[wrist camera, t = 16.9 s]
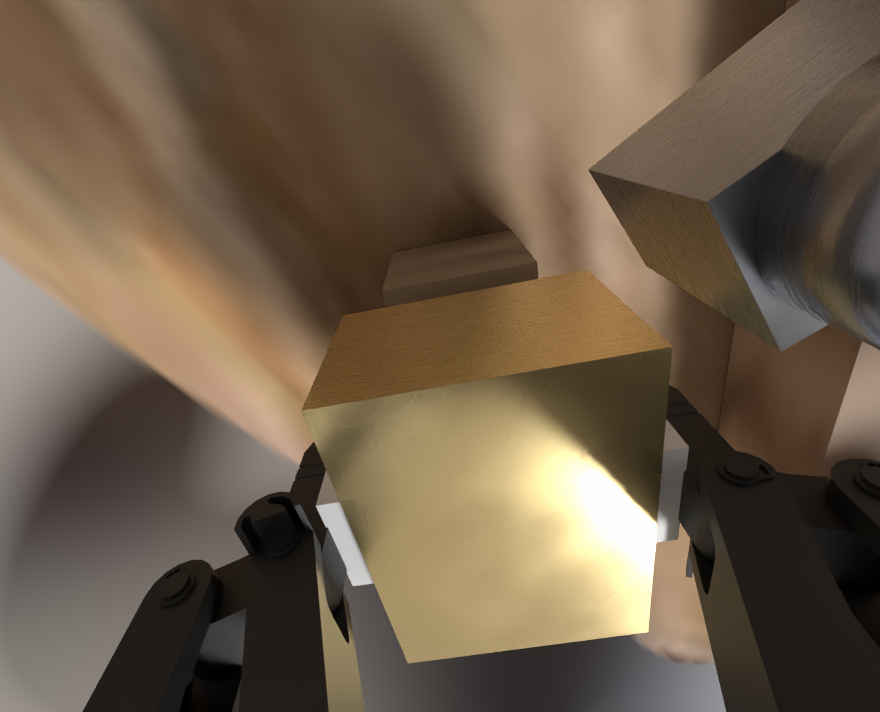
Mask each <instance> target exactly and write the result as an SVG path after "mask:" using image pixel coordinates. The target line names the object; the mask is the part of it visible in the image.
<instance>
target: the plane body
mask: <svg viewBox="0 0 880 712" xmlns="http://www.w3.org/2000/svg"><path fill="white" fill-rule="evenodd" d="M798 1H800V0H786V7H785V12H786V11H787V10H788V9H790V8H791V7H792V6H793V5H795V4H796V3H797V2H798ZM718 433H719V434H720V435H721V436H722V437H723V438H724V439H725V440H726V441H727V442H728V443H729V445H730V446H731V447H732V448H733V449H734V450H735V451H739V452H745V453H748V454H751V455H753V456H756V457H759V458H761V459H762V460H764V461H765V462H767V463H769V464H770V465H772V466H773V467H774V469H775V470H776V471H777V472H781V473H787V474H797V475H809V476H822V477H828V476H829V473H830V470H831V468H832V467H833V466H834V465H835V464H836V463H837V462H839V461H842V460H846V459H850V458H855V459H870V460H875V461H880V350H879V349H877V348H875V347H873V346H871V345H869V344H867V343H865V342H862V341H860V340H858V339H856V338H854V337H852V336H850V335H848V334H846V333H844V332H842V331H840V330H838V329H836V328H834V327H832V326H830V325H827V326H825V327H823V328H822V329H820V330H818V331H816V332H815V333H813V334H811V335H809V336H808V337H806V338H804V339H802V340H801V341H799V342H797V343H795V344H794V345H792V346H790V347H789V348H787V349H785V350H783V351H782V352H781V351H779V350H777V349H776V348H774V347H773V346H771V345H770V344H768V343H766V342H765V341H763V340H762V339H760V338H759V337H757V336H755V335H754V334H752V333H751V332H749V331H748V330H746V329H744V328H743V327H741V326H740V325H738V324H737V323H735V326H734V332H733V339H732V345H731V351H730V358H729V364H728V370H727V376H726V383H725V389H724V395H723V401H722V408H721V414H720V420H719V426H718Z"/></svg>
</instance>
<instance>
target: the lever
mask: <svg viewBox="0 0 880 712" xmlns="http://www.w3.org/2000/svg"><path fill="white" fill-rule="evenodd" d="M588 170H589V172H590V173H591V175H592V177H593V178H594V180H595V182H596V183H597V185H598V187H599V188H600V190H601V192H602V193H603V195H604V197H605V198H606V200H607V202H608V203H609V205H610V207H611V208H612V210H613V212H614V213H615V215H616V216H617V218H618V220H619V221H620V223H621V225H622V226H623V228H624V230H625V231H626V233H627V235H628V236H629V238H630V240H631V241H632V243H633V245H634V246H635V248H636V250H637V251H638V253H639V255H640V256H641V258H642V260H643V261H644V263H645V265H646V266H647V267H649V268H650V269H652V270H654V271H655V272H657V273H658V274H660V275H661V276H663V277H665V278H666V279H668V280H669V281H671V282H672V283H674V284H676V285H677V286H679V287H680V288H682V289H683V290H685V291H687V292H688V293H690V294H691V295H693V296H694V297H696V298H697V299H699V300H701V301H702V302H704V303H705V304H707V305H708V306H710V307H712V308H713V309H715V310H716V311H718V312H719V313H721V314H723V315H724V316H726V317H727V318H729V319H730V320H732V321H734V322H735V323H737V324H738V325H740V326H741V327H743V328H744V329H746V330H748V331H749V332H751V333H752V334H754V335H755V336H757V337H759V338H760V339H762V340H763V341H765V342H766V343H768V344H770V345H771V346H773V347H774V348H776V349H777V350H779V351H781V352H782V351H783V350H785V349H787V348H789V347H790V346H792V345H794V344H795V343H797V342H799V341H801V340H802V339H804V338H806V337H808V336H809V335H811V334H813V333H815V332H816V331H818V330H820V329H822V328H823V327H825V326H827V325H830V326H832V327H834V328H836V329H838V330H840V331H842V332H844V333H846V334H848V335H850V336H852V337H854V338H856V339H858V340H860V341H862V342H865V343H867V344H869V345H871V346H873V347H875V348H877V349H879V350H880V0H800V1H798V2H797V3H796V4H795V5H793V6H792V7H791V8H790V9H788V10H787V11H786V12H785V13H783V14H782V15H781V16H780V17H778V18H777V19H776V20H775V21H773V22H772V23H771V24H770V25H768V26H767V27H766V28H765V29H763V30H762V31H761V32H760V33H758V34H757V35H756V36H755V37H753V38H752V39H751V40H750V41H748V42H747V43H746V44H745V45H743V46H742V47H741V48H740V49H738V50H737V51H736V52H735V53H733V54H732V55H731V56H730V57H728V58H727V59H726V60H725V61H723V62H722V63H721V64H720V65H718V66H717V67H716V68H715V69H713V70H712V71H711V72H710V73H708V74H707V75H706V76H705V77H703V78H702V79H701V80H700V81H698V82H697V83H696V84H695V85H693V86H692V87H691V88H690V89H688V90H687V91H686V92H685V93H683V94H682V95H681V96H680V97H678V98H677V99H676V100H675V101H673V102H672V103H671V104H670V105H668V106H667V107H666V108H665V109H663V110H662V111H661V112H660V113H658V114H657V115H656V116H655V117H653V118H652V119H651V120H650V121H648V122H647V123H646V124H645V125H643V126H642V127H641V128H640V129H638V130H637V131H636V132H635V133H633V134H632V135H631V136H630V137H628V138H627V139H626V140H625V141H623V142H622V143H621V144H620V145H618V146H617V147H616V148H615V149H613V150H612V151H611V152H610V153H608V154H607V155H606V156H605V157H603V158H602V159H601V160H600V161H598V162H597V163H596V164H595V165H593V166H592V167H591V168H590V169H588Z"/></svg>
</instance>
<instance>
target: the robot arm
mask: <svg viewBox="0 0 880 712" xmlns="http://www.w3.org/2000/svg"><path fill="white" fill-rule="evenodd" d="M299 467H300V469H299V470H298V472H297V474H296V477H295V481H294V483H293V485H292V488H291V491H290V492H277V493H273V494H269V495H267V496H265V497H263V498H261V499H259V500H257V501H255V502H254V503H253V504H252V505H250V506H249V507H248V508H247V509H246V510H245V511H244V512H243V514H242V515H241V516H240V517H239V518H238V520H237V523H236V526H235V529H234V530H235V532H236V533H237V535H238V537H239V538H240V540H241V541H242V543H243V545H244V546H245V548H246V550H247V551H248V553H249V555H247V556H245V557H243V558H241V559H239V560H237V561H234V562H232V563H230V564H227V565H225V566H223V567H221V568H218V569H216V570H213V568H212V567H211V566H210V564H208V563H207V562H205V561H203V560H190V561H188V562H185V563H182V564H179V565H178V566H176V567H174V568H173V569H171V570H169V571H168V572H166V573H165V574H164V575H163V576H162V577H161V578H160V579H159V580H157V581H156V582H155V583H154V585H153V586H152V587H151V589H150V590H149V591H148V593H147V594H146V596H145V597H144V599H143V601H142V603H141V605H140V607H139V608H138V610H137V612H136V614H135V616H134V618H133V620H132V621H131V623H130V625H129V627H128V629H127V631H126V633H125V634H124V636H123V638H122V640H121V642H120V644H119V645H118V647H117V649H116V651H115V653H114V655H113V656H112V659H111V660H110V662H109V664H108V666H107V668H106V670H105V671H104V673H103V675H102V677H101V679H100V680H99V682H98V684H97V686H96V688H95V690H94V692H93V693H92V695H91V697H90V699H89V701H88V703H87V705H86V706H85V708H84V710H83V712H365V709H364V703H363V697H362V690H361V683H360V677H359V670H358V663H357V657H356V650H355V643H354V638H353V630H352V623H351V617H350V610H349V604H348V601H347V598H346V596H345V594H344V592H343V589H344V582H345V577H346V572H347V574H348V576H349V579H350V580H351V583H352V585H353V586H358V585H364V584H371V583H374V582H373V579H372V577H371V575H370V572H369V570H368V567H367V565H366V563H365V560H364V558H363V556H362V553H361V551H360V549H359V546H358V544H357V541H356V539H355V537H354V534H353V532H352V530H351V527H350V525H349V523H348V520H347V518H346V515H345V513H344V511H343V508H342V506H341V504H340V501H339V499H338V497H337V494H336V492H335V490H334V487H333V485H332V482H331V480H330V478H329V475H328V473H327V471H326V468H325V466H324V464H323V461H322V459H321V456H320V454H319V452H318V449H317V447H316V445H315V442H313V443H312V445H311V446H310V447H309V448H308V449H307V450H306V452H305V453H304V456H303V458H302V461H301V464H300V466H299ZM680 523H681V524H682V526H683V528H684V529H685V531H686V532H687V534H688V535H689V537H690V545H689V552H688V559H687V566H686V577H692V573H694V577H695V581H696V585H697V590H698V594H699V598H700V602H701V606H702V611H703V615H704V619H705V623H706V628H707V632H708V636H709V640H710V644H711V649H712V653H713V657H714V661H715V666H716V670H717V674H718V678H719V682H720V686H721V691H722V695H723V699H724V704H725V708H726V712H880V461H875V460H870V459H855V458H850V459H846V460H842V461H839V462H837V463H836V464H835V465H834V466H833V467H832V468H831V470H830V473H829V476H828V477H822V476H809V475H797V474H787V473H781V472H777V471H776V470H775V469H774V467H773V466H772V465H770V464H769V463H767V462H765V461H764V460H762V459H761V458H759V457H756V456H753V455H751V454H748V453H745V452H739V451H735V450H734V449H733V448H732V447H731V446H730V445H729V443H728V442H727V441H726V440H725V439H724V438H723V437H722V436H721V435H720V434H719V433H718V432H717V431H716V430H715V429H714V428H713V427H712V425H711V424H710V423H709V422H708V421H707V420H706V419H705V418H704V417H703V416H702V415H701V414H699V413H698V411H697V410H696V409H695V408H694V406H693V405H692V404H689V401H688V400H687V399H686V398H685V397H684V396H683V395H682V394H681V393H680V392H679V391H678V390H677V389H676V388H674V387H672V386H670V385H669V391H668V402H667V414H666V426H665V438H664V450H663V461H662V473H661V485H660V497H659V508H658V520H657V532H656V542H663V541H670V540H677V539H678V533H679V525H680Z"/></svg>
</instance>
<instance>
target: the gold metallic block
mask: <svg viewBox="0 0 880 712" xmlns="http://www.w3.org/2000/svg"><path fill="white" fill-rule="evenodd" d="M671 355H672V346H671V345H670V344H669V343H668V342H667V341H665V340H664V339H663V338H662V337H661V336H660V335H659V334H658V333H657V332H655V331H654V330H653V329H652V328H651V327H650V326H649V325H648V324H647V323H645V322H644V321H643V320H642V319H641V318H640V317H639V316H638V315H637V314H636V313H634V312H633V311H632V310H631V309H630V308H629V307H628V306H627V305H626V304H624V303H623V302H622V301H621V300H620V299H619V298H618V297H617V296H616V295H614V294H613V293H612V292H611V291H610V290H609V289H608V288H607V287H606V286H604V285H603V284H602V283H601V282H600V281H599V280H598V279H597V278H596V277H595V276H593V275H592V274H591V273H590V272H589V271H588V270H584V271H578V272H573V273H567V274H562V275H557V276H551V277H546V278H541V279H535V280H530V281H525V282H519V283H514V284H509V285H503V286H498V287H493V288H487V289H482V290H476V291H471V292H466V293H460V294H455V295H450V296H444V297H439V298H434V299H428V300H423V301H418V302H412V303H407V304H402V305H396V306H391V307H385V308H380V309H375V310H369V311H364V312H359V313H353V314H348V315H343V317H342V319H341V322H340V324H339V326H338V329H337V331H336V333H335V335H334V338H333V340H332V342H331V344H330V347H329V349H328V351H327V353H326V356H325V358H324V360H323V363H322V365H321V367H320V369H319V372H318V374H317V376H316V378H315V381H314V383H313V385H312V387H311V390H310V392H309V394H308V397H307V399H306V401H305V403H304V406H303V408H302V410H301V412H302V414H303V416H304V419H305V421H306V423H307V426H308V428H309V430H310V433H311V435H312V438H313V440H314V442H315V445H316V447H317V449H318V452H319V454H320V456H321V459H322V461H323V464H324V466H325V468H326V471H327V473H328V475H329V478H330V480H331V482H332V485H333V487H334V490H335V492H336V494H337V497H338V499H339V501H340V504H341V506H342V508H343V511H344V513H345V515H346V518H347V520H348V523H349V525H350V527H351V530H352V532H353V534H354V537H355V539H356V541H357V544H358V546H359V549H360V551H361V553H362V556H363V558H364V560H365V563H366V565H367V567H368V570H369V572H370V575H371V577H372V579H373V582H374V584H375V586H376V589H377V591H378V593H379V596H380V598H381V600H382V603H383V605H384V608H385V610H386V612H387V615H388V617H389V619H390V622H391V624H392V627H393V629H394V631H395V634H396V636H397V638H398V641H399V643H400V645H401V648H402V650H403V652H404V655H405V657H406V660H407V662H408V663H414V662H421V661H430V660H437V659H445V658H452V657H460V656H468V655H476V654H483V653H490V652H499V651H506V650H514V649H522V648H528V647H537V646H545V645H552V644H559V643H568V642H575V641H583V640H590V639H598V638H606V637H614V636H621V635H629V634H637V633H644V632H648V626H649V614H650V603H651V591H652V579H653V567H654V556H655V544H656V532H657V520H658V508H659V497H660V485H661V473H662V461H663V450H664V438H665V426H666V414H667V402H668V391H669V379H670V367H671Z"/></svg>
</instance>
